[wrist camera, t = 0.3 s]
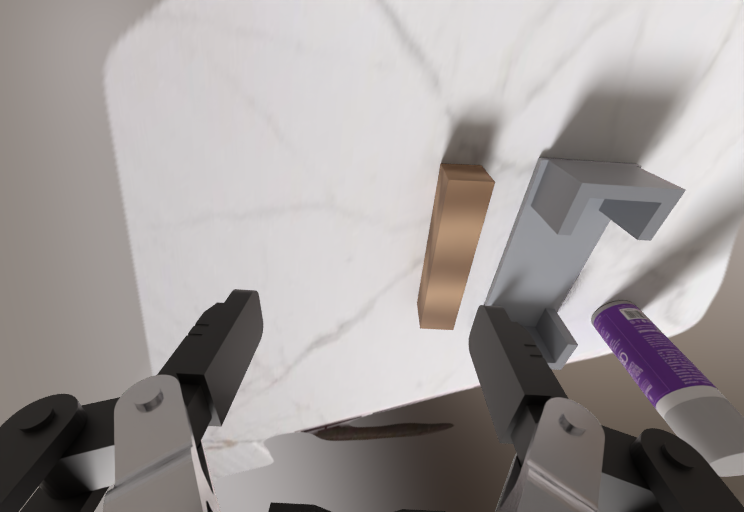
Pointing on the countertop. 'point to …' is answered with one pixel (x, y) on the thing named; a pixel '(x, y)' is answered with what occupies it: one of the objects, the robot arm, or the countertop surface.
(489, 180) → the slat
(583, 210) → the endcap rail
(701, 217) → the countertop surface
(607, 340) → the container
